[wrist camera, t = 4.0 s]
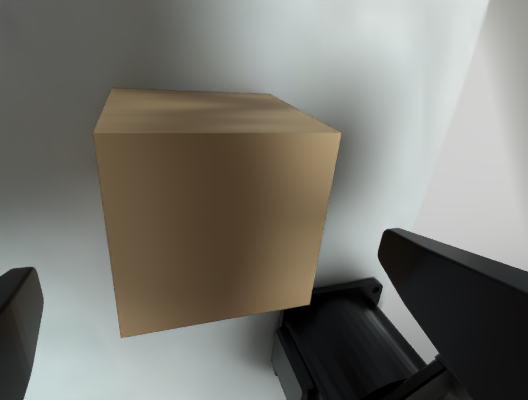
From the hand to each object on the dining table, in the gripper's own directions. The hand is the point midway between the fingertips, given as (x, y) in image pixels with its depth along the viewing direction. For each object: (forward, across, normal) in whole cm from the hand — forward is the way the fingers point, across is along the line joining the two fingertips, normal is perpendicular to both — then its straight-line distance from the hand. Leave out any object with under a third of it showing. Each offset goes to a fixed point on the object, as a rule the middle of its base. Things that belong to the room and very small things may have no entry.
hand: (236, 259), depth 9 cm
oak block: (+7, 0, 0) cm, 7 cm away
